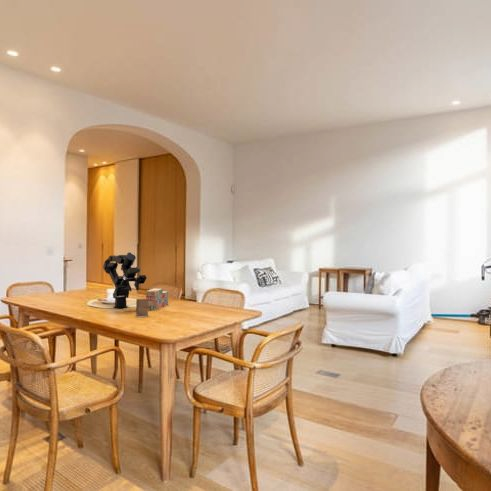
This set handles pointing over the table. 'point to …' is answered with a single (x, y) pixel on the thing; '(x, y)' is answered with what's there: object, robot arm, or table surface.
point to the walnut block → (142, 307)
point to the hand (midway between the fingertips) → (134, 290)
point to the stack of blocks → (156, 298)
